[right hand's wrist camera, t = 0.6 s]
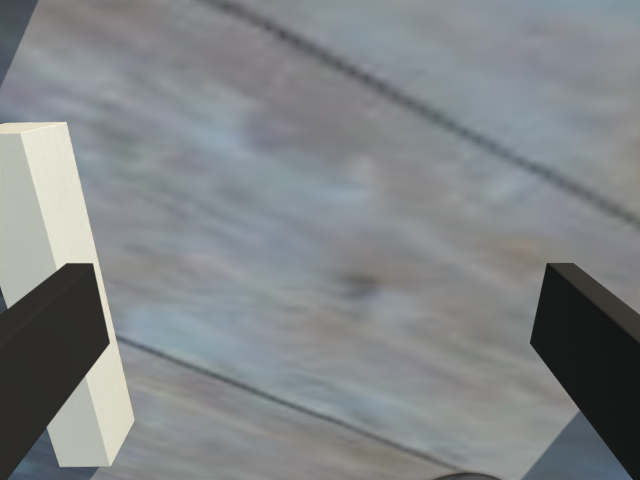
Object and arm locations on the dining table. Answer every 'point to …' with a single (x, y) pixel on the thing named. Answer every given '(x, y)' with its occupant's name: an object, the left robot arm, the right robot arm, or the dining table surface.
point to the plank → (45, 259)
